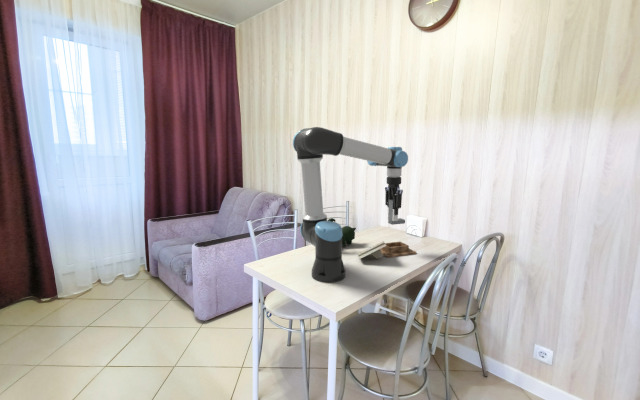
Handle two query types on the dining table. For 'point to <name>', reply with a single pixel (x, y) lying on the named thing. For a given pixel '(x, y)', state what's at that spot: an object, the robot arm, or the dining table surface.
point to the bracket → (390, 214)
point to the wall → (373, 251)
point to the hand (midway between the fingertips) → (392, 219)
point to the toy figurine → (346, 234)
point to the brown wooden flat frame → (396, 249)
